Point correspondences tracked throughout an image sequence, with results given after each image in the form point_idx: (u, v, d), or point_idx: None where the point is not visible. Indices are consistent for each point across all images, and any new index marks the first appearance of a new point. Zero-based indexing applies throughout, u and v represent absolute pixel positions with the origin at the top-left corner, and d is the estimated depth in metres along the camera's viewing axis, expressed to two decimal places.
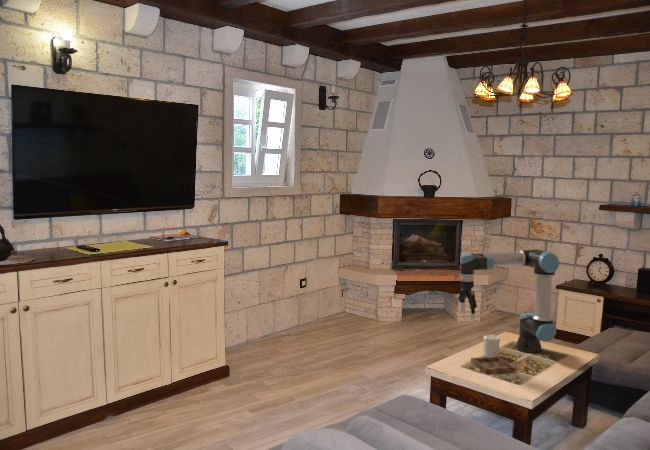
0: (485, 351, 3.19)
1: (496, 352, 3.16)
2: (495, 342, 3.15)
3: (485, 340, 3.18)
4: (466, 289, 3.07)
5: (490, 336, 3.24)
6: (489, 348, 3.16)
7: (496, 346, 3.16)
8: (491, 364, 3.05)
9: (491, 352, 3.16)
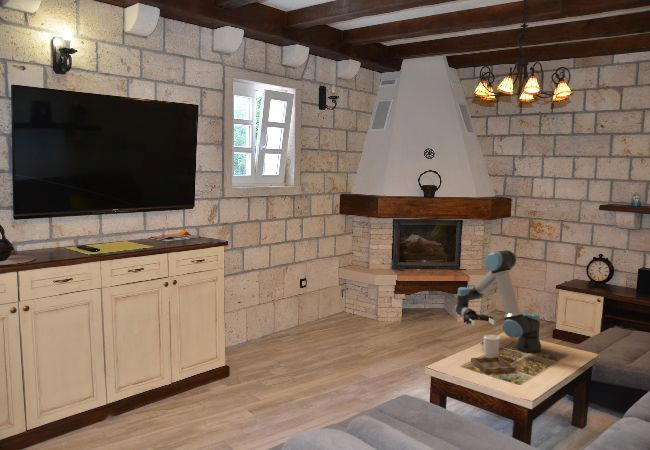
0: (485, 351, 3.19)
1: (496, 352, 3.16)
2: (495, 342, 3.15)
3: (485, 340, 3.18)
4: None
5: (490, 336, 3.24)
6: (489, 348, 3.16)
7: (496, 346, 3.16)
8: (491, 364, 3.05)
9: (491, 352, 3.16)
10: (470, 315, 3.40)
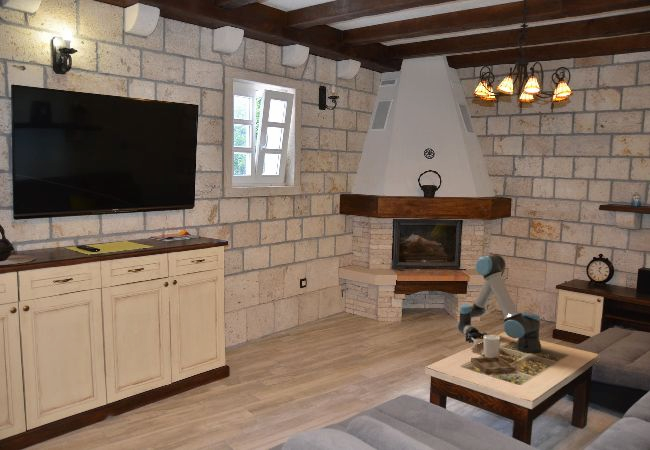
0: (485, 351, 3.19)
1: (496, 352, 3.16)
2: (495, 342, 3.15)
3: (485, 340, 3.18)
4: None
5: (490, 336, 3.24)
6: (489, 348, 3.16)
7: (496, 346, 3.16)
8: (491, 364, 3.05)
9: (491, 352, 3.16)
10: (472, 334, 3.36)
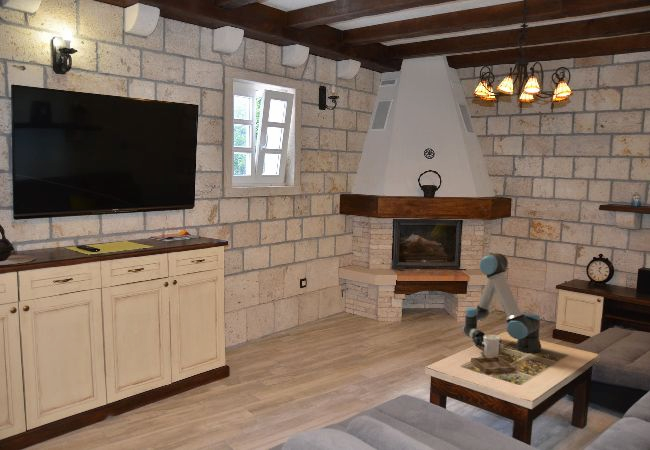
0: (485, 351, 3.18)
1: (496, 352, 3.16)
2: (495, 342, 3.15)
3: (485, 340, 3.18)
4: None
5: (490, 336, 3.24)
6: (489, 347, 3.16)
7: (496, 346, 3.16)
8: (491, 364, 3.05)
9: (491, 352, 3.16)
10: (480, 337, 3.28)
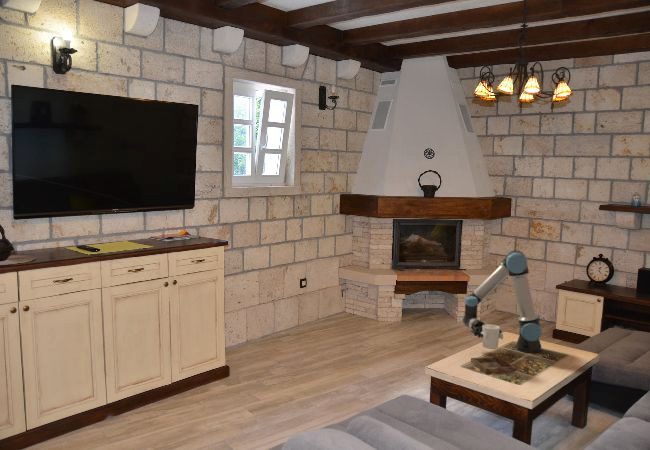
0: (484, 341, 3.02)
1: (495, 342, 3.00)
2: (495, 332, 2.98)
3: (484, 330, 3.01)
4: None
5: (490, 326, 3.08)
6: (488, 338, 3.00)
7: (495, 336, 2.99)
8: (491, 364, 3.05)
9: (490, 342, 3.00)
10: (479, 327, 3.12)
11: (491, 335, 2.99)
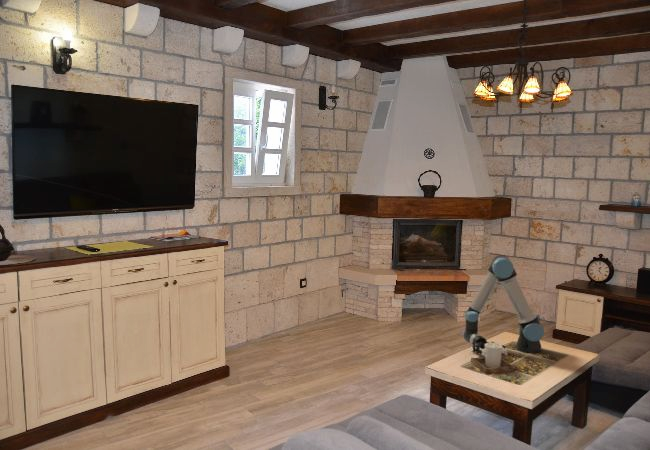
0: (486, 360, 3.00)
1: (498, 362, 2.98)
2: (497, 351, 2.97)
3: (487, 349, 3.00)
4: None
5: (492, 344, 3.06)
6: (491, 357, 2.98)
7: (498, 355, 2.98)
8: None
9: (493, 362, 2.98)
10: (480, 343, 3.10)
11: (494, 354, 2.97)
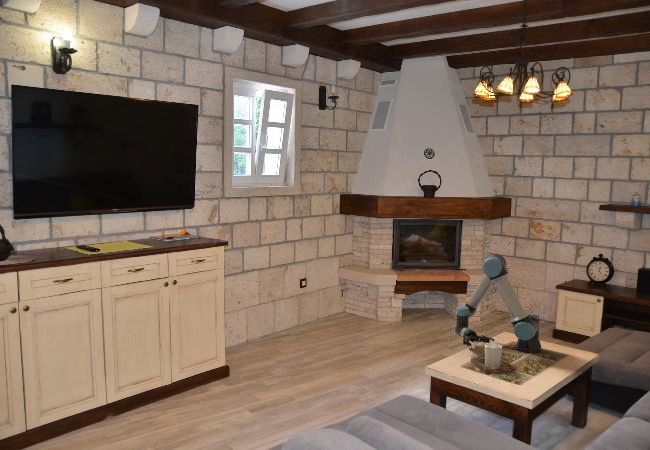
0: (486, 360, 3.00)
1: (498, 362, 2.98)
2: (497, 351, 2.97)
3: (486, 349, 3.00)
4: None
5: (492, 344, 3.06)
6: (491, 357, 2.98)
7: (498, 355, 2.98)
8: None
9: (493, 362, 2.98)
10: (470, 336, 3.23)
11: (494, 354, 2.97)
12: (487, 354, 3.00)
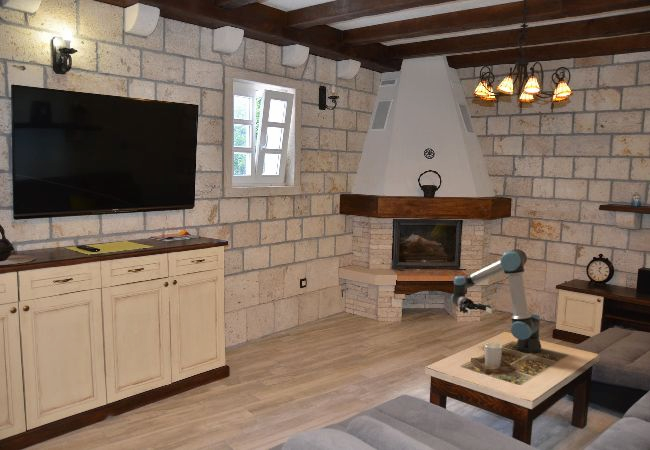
0: (486, 360, 3.00)
1: (498, 362, 2.98)
2: (497, 351, 2.97)
3: (486, 349, 3.00)
4: None
5: (492, 344, 3.06)
6: (491, 357, 2.98)
7: (498, 355, 2.98)
8: None
9: (493, 362, 2.98)
10: (467, 304, 3.27)
11: (494, 354, 2.97)
12: (487, 354, 3.00)
